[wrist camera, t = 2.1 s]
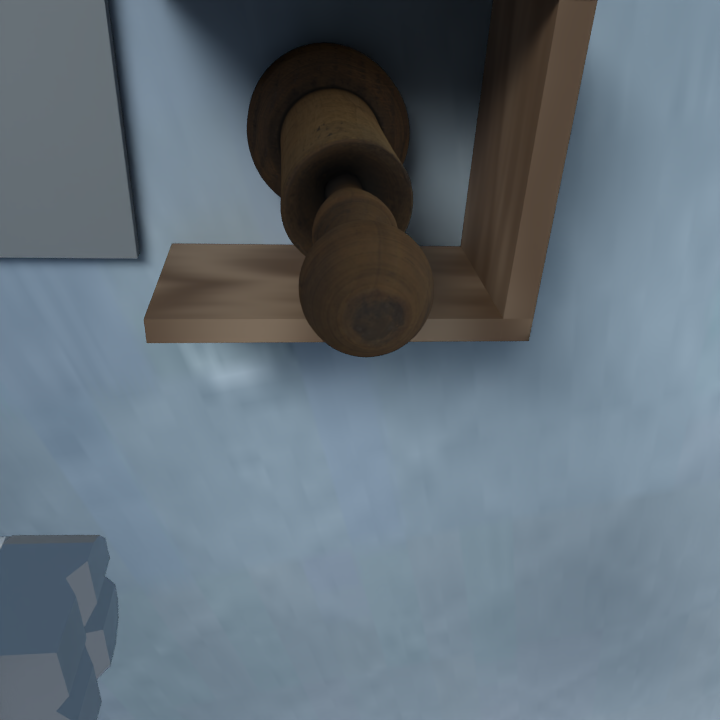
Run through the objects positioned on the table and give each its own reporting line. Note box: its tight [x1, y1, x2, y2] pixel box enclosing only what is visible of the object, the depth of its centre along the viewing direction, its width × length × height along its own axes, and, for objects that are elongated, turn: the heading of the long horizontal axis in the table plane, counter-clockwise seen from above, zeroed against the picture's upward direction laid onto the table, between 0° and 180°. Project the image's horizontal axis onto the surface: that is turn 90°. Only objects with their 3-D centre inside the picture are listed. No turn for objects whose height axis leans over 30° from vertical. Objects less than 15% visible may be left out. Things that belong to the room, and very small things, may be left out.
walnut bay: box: [144, 0, 597, 343], centre depth 26 cm, size 15×13×8 cm
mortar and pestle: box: [247, 43, 434, 357], centre depth 22 cm, size 7×6×18 cm
